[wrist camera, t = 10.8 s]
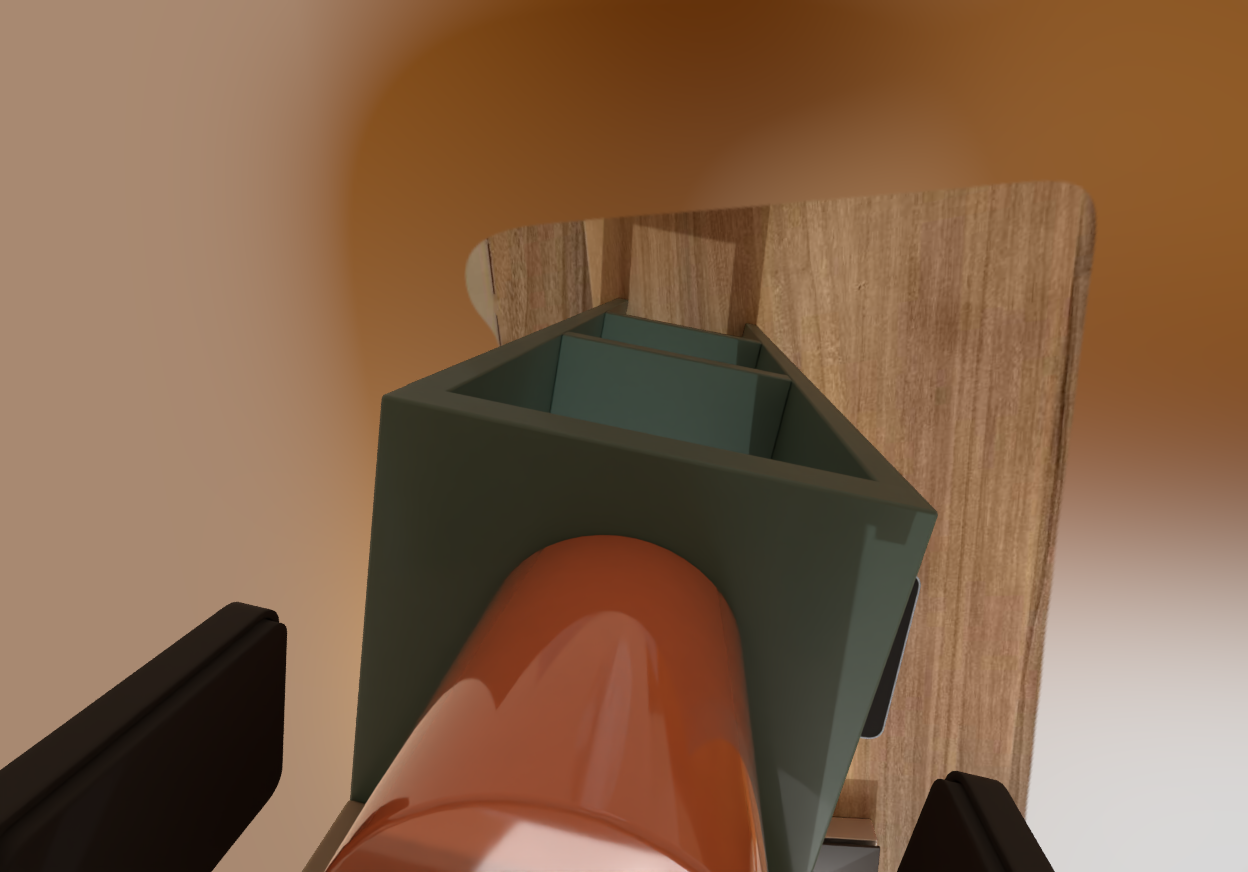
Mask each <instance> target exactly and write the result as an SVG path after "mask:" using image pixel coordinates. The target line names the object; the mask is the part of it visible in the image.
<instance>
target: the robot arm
mask: <svg viewBox="0 0 1248 872" xmlns="http://www.w3.org/2000/svg"><path fill="white" fill-rule="evenodd" d="M286 647H287V628H286V626H285V625H284V624H282V623H279V617H278V615H277V613H276V612H275V611H273V610H270V609H266V608H261V607H257V606H253V605H249V604H244V603H240V602H233V603H230V604H228V605H226V606H225V607H224V608H222V609H221V610H219V611H218V612H217V613H216V614H214V615H213V616H211V617H210V618H208V619H207V620H206V621H204V622H203V623H202V624H200V625H199V626H197V627H196V628H195V629H194V630H192V631H191V632H189V633H188V634H186V635H185V636H184V637H182V638H181V639H180V640H178V641H177V642H175V643H174V644H173V645H171V646H170V647H169V648H167V649H166V650H164V651H163V652H162V653H160V654H159V655H158V656H156V657H155V658H153V659H152V660H151V661H149V662H148V663H147V664H145V665H144V666H143V667H141V668H140V669H138V670H137V671H136V672H134V673H133V674H132V675H130V676H129V677H127V678H126V679H125V680H123V681H122V682H121V683H119V684H118V685H116V686H115V687H114V688H112V689H111V690H110V691H108V692H107V693H105V694H104V695H103V696H101V697H100V698H99V699H97V700H96V701H95V702H93V703H92V704H90V705H89V706H88V707H87V708H85V709H84V710H82V711H81V712H79V713H78V714H77V715H75V716H74V717H73V718H71V719H70V720H69V721H67V722H66V723H65V724H63V725H62V726H60V727H59V728H58V729H56V730H55V731H53V732H52V733H51V734H49V735H48V736H47V737H45V738H44V739H42V740H41V741H40V742H38V743H37V744H35V745H34V746H33V747H32V748H30V749H29V750H27V751H26V752H25V753H23V754H22V755H20V756H19V757H18V758H16V759H15V760H14V761H12V762H11V763H9V764H8V765H7V766H5V767H4V768H3V769H1V770H0V872H211V871H212V870H213V869H214V868H215V867H216V865H217V864H218V863H219V861H220V860H221V859H222V858H223V856H224V855H225V854H226V853H227V851H228V850H229V849H230V848H231V846H232V845H233V844H234V843H235V841H236V840H237V839H238V838H239V836H240V835H241V834H242V832H243V831H244V830H245V829H246V828H247V826H248V825H249V824H250V823H251V821H252V820H253V819H254V817H255V816H256V815H257V814H258V813H259V811H260V810H261V809H262V808H263V806H264V805H265V804H266V803H267V801H268V800H269V799H270V797H271V796H272V794H273V793H274V791H275V789H276V787H277V785H278V783H279V780H280V777H281V773H282V763H283V734H284V706H285V676H286V675H285V674H286ZM897 872H1055V871H1054V870H1053V868H1052V866H1051V864H1050V863H1049V861H1048V859H1047V858H1046V856H1045V854H1044V853H1043V851H1042V849H1041V847H1040V846H1039V844H1038V842H1037V840H1036V839H1035V837H1034V835H1033V833H1032V832H1031V830H1030V828H1029V827H1028V825H1027V823H1026V821H1025V820H1024V818H1023V816H1022V815H1021V813H1020V811H1019V809H1018V808H1017V806H1016V804H1015V803H1014V801H1013V799H1012V797H1011V796H1010V794H1009V792H1008V790H1007V789H1006V788H1005V787H1004V785H1003V784H1002V783H1000V782H999V781H997V780H993V779H989V778H985V777H980V776H976V775H972V774H968V773H963V772H959V771H952V772H951V773H949V774H948V775H947V777H946V779H945V780H943V779H937V780H936V781H934V783H933V785H932V787H931V789H930V792H929V794H928V797H927V799H926V802H925V804H924V806H923V809H922V811H921V814H920V816H919V819H918V821H917V824H916V826H915V829H914V831H913V834H912V836H911V838H910V841H909V843H908V846H907V848H906V851H905V853H904V856H903V858H902V861H901V863H900V866H899V868H898V871H897Z"/></svg>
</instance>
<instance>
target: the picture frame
mask: <svg viewBox="0 0 1248 872" xmlns="http://www.w3.org/2000/svg"><path fill="white" fill-rule="evenodd" d="M879 854H880V847H879V846H877V837H876V834H875V831H874V827H873V824H872V821H871V819H858V818H841V817H832V819H831V821H830V824H829V827H828V830H827V833H826V836H825V838H824V841H823V844H822V847H821V850H820V853H819V856H818V858H817V861H816V864H815V867H814V870H813V872H878V865H879Z"/></svg>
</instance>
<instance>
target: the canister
mask: <svg viewBox="0 0 1248 872" xmlns="http://www.w3.org/2000/svg"><path fill="white" fill-rule="evenodd" d="M324 872H768V865H767V856H766V848H765V839H764V830H763V822H762V813H761V805H760V796H759V787H758V779H757V770H756V762H755V753H754V744H753V736H752V727H751V718H750V710H749V701H748V693H747V684H746V675H745V667H744V658H743V649H742V641H741V637H740V633H739V629H738V625H737V623H736V620H735V618H734V616H733V613H732V611H731V609H730V607H729V606H728V604H727V602H726V601H725V599H724V597H723V596H722V594H721V593H720V592H719V591H718V589H717V588H716V587H715V586H714V584H713V583H712V582H711V581H710V580H709V579H708V578H707V577H706V576H705V575H704V574H703V573H702V572H701V571H700V570H699V569H697V568H696V567H695V566H693V565H692V564H691V563H689V562H688V561H687V560H685V559H684V558H682V557H680V556H678V555H677V554H675V553H673V552H671V551H670V550H667V549H665V548H663V547H660V546H658V545H656V544H653V543H650V542H647V541H643V540H639V539H636V538H630V537H624V536H618V535H592V536H582V537H577V538H572V539H568V540H564V541H561V542H558V543H555V544H553V545H550V546H548V547H546V548H544V549H542V550H540V551H538V552H536V553H534V554H533V555H531V556H530V557H529V558H527V559H526V560H524V561H523V562H521V563H520V564H519V565H518V566H517V567H516V568H515V569H514V570H513V571H512V572H511V573H510V574H509V575H508V576H507V578H506V579H505V580H504V582H503V583H502V584H501V585H500V587H499V589H498V590H497V592H496V594H495V595H494V597H493V598H492V600H491V602H490V603H489V605H488V606H487V608H486V610H485V611H484V613H483V615H482V616H481V618H480V619H479V621H478V623H477V624H476V626H475V628H474V629H473V631H472V632H471V634H470V636H469V637H468V639H467V641H466V642H465V644H464V645H463V647H462V649H461V650H460V652H459V654H458V655H457V657H456V658H455V660H454V662H453V663H452V665H451V666H450V668H449V670H448V671H447V673H446V675H445V676H444V678H443V679H442V681H441V683H440V684H439V686H438V688H437V689H436V691H435V692H434V694H433V696H432V697H431V699H430V701H429V702H428V704H427V705H426V707H425V709H424V710H423V712H422V714H421V715H420V717H419V718H418V720H417V722H416V723H415V725H414V726H413V728H412V730H411V731H410V733H409V735H408V736H407V738H406V739H405V741H404V743H403V744H402V746H401V748H400V749H399V751H398V752H397V754H396V756H395V757H394V759H393V761H392V762H391V764H390V765H389V767H388V769H387V770H386V772H385V774H384V775H383V777H382V778H381V780H380V782H379V783H378V785H377V786H376V788H375V790H374V791H373V793H372V795H371V796H370V798H369V799H368V801H367V803H366V804H365V806H364V808H363V809H362V811H361V812H360V814H359V816H358V817H357V819H356V821H355V822H354V824H353V825H352V827H351V829H350V830H349V832H348V834H347V835H346V837H345V838H344V840H343V842H342V843H341V845H340V846H339V848H338V850H337V851H336V853H335V855H334V856H333V858H332V859H331V861H330V863H329V864H328V866H327V868H326V870H325V871H324Z"/></svg>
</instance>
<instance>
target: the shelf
mask: <svg viewBox="0 0 1248 872" xmlns="http://www.w3.org/2000/svg"><path fill="white" fill-rule="evenodd" d="M627 306H628V300H626V299H621V298H617V299H615V300H612V301H610V302H607V303H605V304H602V305H600V306H598V307H595V308H593V309H590V310H588V311H585V312H583V313H581V314H578V315H576V316H573V317H571V318H568V319H566V320H563V321H561V322H559V323H556V324H554V325H551V326H549V327H546V328H544V329H542V330H539V331H537V332H534V333H532V334H529V335H527V336H525V337H522V338H520V339H517V340H515V341H512V342H510V343H508V344H505V345H503V346H500V347H498V348H495V349H493V350H490V351H488V352H486V353H483V354H481V355H478V356H476V357H474V358H471V359H469V360H466V361H464V362H461V363H459V364H456V365H454V366H452V367H449V368H447V369H444V370H442V371H439V372H437V373H435V374H432V375H430V376H427V377H425V378H422V379H420V380H417V381H415V382H413V383H410V384H408V385H407V386H404V387H402V388H399V389H397V390H395V391H392V392H390V393H387V394H385V395H383V397H382V402H381V414H380V427H379V440H378V453H377V465H376V478H375V490H374V503H373V516H372V528H371V541H370V554H369V567H368V579H367V592H366V604H365V617H364V630H363V631H364V632H363V642H362V655H361V668H360V680H359V693H358V706H357V718H356V731H355V744H354V745H355V746H354V757H353V770H352V782H351V795H350V801H348V802H347V804H346V805H345V807H344V808H343V810H342V811H341V813H340V814H339V816H338V817H337V819H336V821H335V822H334V823H333V825H332V826H331V828H330V830H329V831H328V833H327V834H326V836H325V837H324V839H323V840H322V842H321V843H320V845H319V846H318V848H317V850H316V851H315V853H314V854H313V856H312V857H311V859H310V860H309V862H308V863H307V865H306V867H305V868H304V869H303V871H302V872H324V871H325V870H326V868H327V866H328V864H329V863H330V861H331V859H332V858H333V856H334V855H335V853H336V851H337V850H338V848H339V846H340V845H341V843H342V842H343V840H344V838H345V837H346V835H347V834H348V832H349V830H350V829H351V827H352V825H353V824H354V822H355V821H356V819H357V817H358V816H359V814H360V812H361V811H362V809H363V808H364V806H365V804H366V803H367V801H368V799H369V798H370V796H371V795H372V793H373V791H374V790H375V788H376V786H377V785H378V783H379V782H380V780H381V778H382V777H383V775H384V774H385V772H386V770H387V769H388V767H389V765H390V764H391V762H392V761H393V759H394V757H395V756H396V754H397V752H398V751H399V749H400V748H401V746H402V744H403V743H404V741H405V739H406V738H407V736H408V735H409V733H410V731H411V730H412V728H413V726H414V725H415V723H416V722H417V720H418V718H419V717H420V715H421V714H422V712H423V710H424V709H425V707H426V705H427V704H428V702H429V701H430V699H431V697H432V696H433V694H434V692H435V691H436V689H437V688H438V686H439V684H440V683H441V681H442V679H443V678H444V676H445V675H446V673H447V671H448V670H449V668H450V666H451V665H452V663H453V662H454V660H455V658H456V657H457V655H458V654H459V652H460V650H461V649H462V647H463V645H464V644H465V642H466V641H467V639H468V637H469V636H470V634H471V632H472V631H473V629H474V628H475V626H476V624H477V623H478V621H479V619H480V618H481V616H482V615H483V613H484V611H485V610H486V608H487V606H488V605H489V603H490V602H491V600H492V598H493V597H494V595H495V594H496V592H497V590H498V589H499V587H500V585H501V584H502V583H503V582H504V580H505V579H506V578H507V576H508V575H509V574H510V573H511V572H512V571H513V570H514V569H515V568H516V567H517V566H518V565H519V564H520V563H521V562H523V561H524V560H526V559H527V558H529V557H530V556H531V555H533V554H534V553H536V552H538V551H540V550H542V549H544V548H546V547H548V546H550V545H553V544H555V543H558V542H561V541H564V540H568V539H572V538H577V537H582V536H592V535H618V536H624V537H630V538H636V539H639V540H643V541H647V542H650V543H653V544H656V545H658V546H660V547H663V548H665V549H667V550H670V551H671V552H673V553H675V554H677V555H678V556H680V557H682V558H684V559H685V560H687V561H688V562H689V563H691V564H692V565H693V566H695V567H696V568H697V569H699V570H700V571H701V572H702V573H703V574H704V575H705V576H706V577H707V578H708V579H709V580H710V581H711V582H712V583H713V584H714V586H715V587H716V588H717V589H718V591H719V592H720V593H721V594H722V596H723V597H724V599H725V601H726V602H727V604H728V606H729V607H730V609H731V611H732V613H733V616H734V618H735V620H736V623H737V625H738V629H739V633H740V637H741V641H742V649H743V658H744V667H745V675H746V684H747V693H748V701H749V710H750V718H751V727H752V736H753V744H754V753H755V762H756V770H757V779H758V787H759V796H760V805H761V813H762V822H763V830H764V839H765V848H766V856H767V865H768V872H813V870H814V867H815V864H816V861H817V858H818V856H819V853H820V850H821V847H822V844H823V841H824V838H825V836H826V833H827V830H828V827H829V824H830V821H831V819H832V816H833V813H834V810H835V807H836V804H837V801H838V799H839V796H840V793H841V790H842V787H843V784H844V781H845V779H846V776H847V773H848V770H849V767H850V764H851V762H852V759H853V756H854V753H855V750H856V747H857V744H858V742H859V739H860V736H861V733H862V730H863V727H864V724H865V722H866V719H867V716H868V713H869V710H870V707H871V705H872V702H873V699H874V696H875V693H876V690H877V687H878V685H879V682H880V679H881V676H882V673H883V670H884V667H885V665H886V662H887V659H888V656H889V653H890V650H891V648H892V645H893V642H894V639H895V636H896V633H897V630H898V628H899V625H900V622H901V619H902V616H903V613H904V610H905V608H906V605H907V602H908V599H909V596H910V593H911V591H912V588H913V585H914V582H915V579H916V576H917V573H918V571H919V568H920V565H921V562H922V559H923V556H924V553H925V551H926V548H927V545H928V542H929V539H930V536H931V534H932V531H933V528H934V525H935V522H936V519H937V516H938V514H937V511H936V510H935V509H934V508H933V507H932V506H931V505H930V504H929V503H928V502H927V501H926V500H925V499H924V498H923V497H922V496H921V495H920V494H919V493H918V492H917V490H916V489H915V488H914V487H913V486H912V485H911V484H910V483H909V482H908V481H907V480H906V479H905V478H904V477H903V476H902V475H901V474H900V473H899V472H898V471H897V470H896V469H895V468H894V467H893V466H892V465H891V464H890V463H889V462H888V461H887V460H886V459H885V458H884V456H883V455H882V454H881V453H880V452H879V451H878V450H877V449H876V448H875V447H874V446H873V445H872V444H871V443H870V442H869V441H868V440H867V439H866V438H865V437H864V436H863V435H862V434H861V433H860V432H859V431H858V430H857V429H856V428H855V427H854V426H853V425H852V424H851V422H850V421H849V420H848V419H847V418H846V417H845V416H844V415H843V414H842V413H841V412H840V411H839V410H838V409H837V408H836V407H835V406H834V405H833V404H832V403H831V402H830V401H829V400H828V399H827V398H826V397H825V396H824V395H823V394H822V393H821V392H820V391H819V390H818V388H817V387H816V386H815V385H814V384H813V383H812V382H811V381H810V380H809V379H808V378H807V377H806V376H805V375H804V374H803V373H802V372H801V371H800V370H799V369H798V368H797V367H796V366H795V365H794V364H793V363H792V362H791V361H790V360H789V359H788V358H787V357H786V355H785V354H784V353H783V352H782V351H781V350H780V349H779V348H778V347H777V346H776V345H775V344H774V343H773V342H772V341H771V340H770V339H769V338H768V337H767V336H766V335H765V334H764V333H763V332H762V331H761V330H760V329H759V328H758V327H757V326H756V325H753V324H747V323H746V324H745V328H744V332H743V337H737V336H732V335H726V334H721V333H716V332H711V331H706V330H701V329H696V328H691V327H686V326H681V325H676V324H671V323H666V322H661V321H656V320H651V319H646V318H641V317H636V316H631V315H626V312H627Z"/></svg>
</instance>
